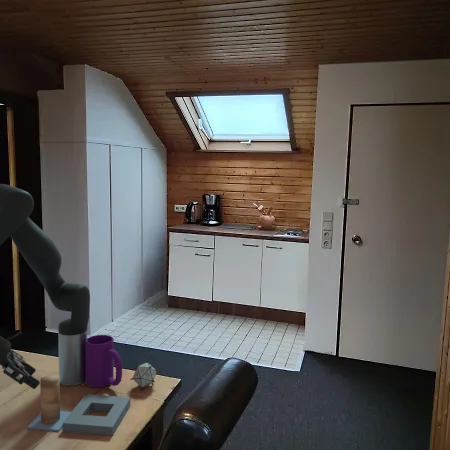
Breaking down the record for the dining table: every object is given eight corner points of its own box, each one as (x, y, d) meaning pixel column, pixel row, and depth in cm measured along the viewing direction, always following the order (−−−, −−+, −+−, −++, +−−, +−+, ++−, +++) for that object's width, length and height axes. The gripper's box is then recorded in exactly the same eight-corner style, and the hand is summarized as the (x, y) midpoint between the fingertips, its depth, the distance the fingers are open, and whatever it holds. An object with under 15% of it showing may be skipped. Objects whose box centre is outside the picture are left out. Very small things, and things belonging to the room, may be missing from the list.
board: (86, 401, 136) (86, 394, 136) (130, 405, 135) (130, 397, 134) (62, 431, 120) (62, 423, 120) (112, 435, 119) (112, 426, 119)
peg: (46, 414, 128) (45, 374, 126) (63, 415, 127) (62, 375, 126) (37, 423, 123) (36, 382, 121) (55, 425, 122) (54, 383, 121)
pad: (43, 411, 130) (43, 409, 130) (73, 413, 129) (73, 412, 129) (27, 428, 121) (27, 427, 121) (59, 431, 120) (59, 429, 120)
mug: (102, 373, 155) (102, 332, 154) (131, 387, 146) (132, 343, 144) (79, 382, 148) (79, 339, 146) (109, 397, 139) (109, 352, 137)
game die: (144, 394, 149) (150, 364, 154) (160, 393, 144) (166, 362, 149) (122, 388, 144) (129, 357, 149) (138, 387, 139) (145, 355, 144)
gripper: (-1, 344, 109) (49, 378, 116) (-4, 326, 122) (41, 358, 129) (-25, 368, 107) (28, 402, 114) (-26, 348, 119) (22, 379, 127)
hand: (35, 379), depth 121 cm, fingers open, 8 cm apart
